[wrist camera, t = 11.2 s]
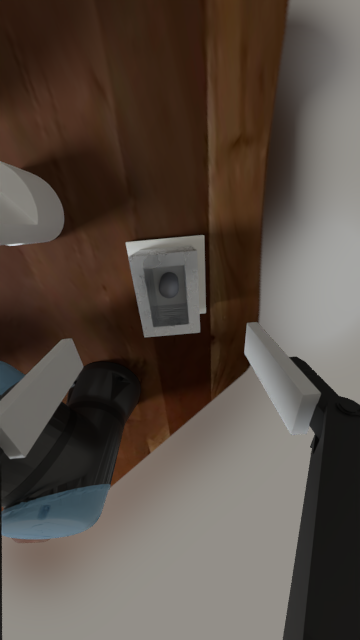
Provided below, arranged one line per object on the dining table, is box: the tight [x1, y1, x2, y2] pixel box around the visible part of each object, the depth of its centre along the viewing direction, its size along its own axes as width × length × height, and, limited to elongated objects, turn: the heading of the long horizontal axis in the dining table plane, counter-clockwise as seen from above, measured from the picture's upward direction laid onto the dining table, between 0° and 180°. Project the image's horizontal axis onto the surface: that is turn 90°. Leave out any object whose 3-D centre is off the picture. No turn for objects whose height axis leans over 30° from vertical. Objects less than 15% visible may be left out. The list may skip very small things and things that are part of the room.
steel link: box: [128, 245, 200, 337], centre depth 27 cm, size 11×8×8 cm
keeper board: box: [126, 235, 206, 314], centre depth 29 cm, size 13×12×7 cm
